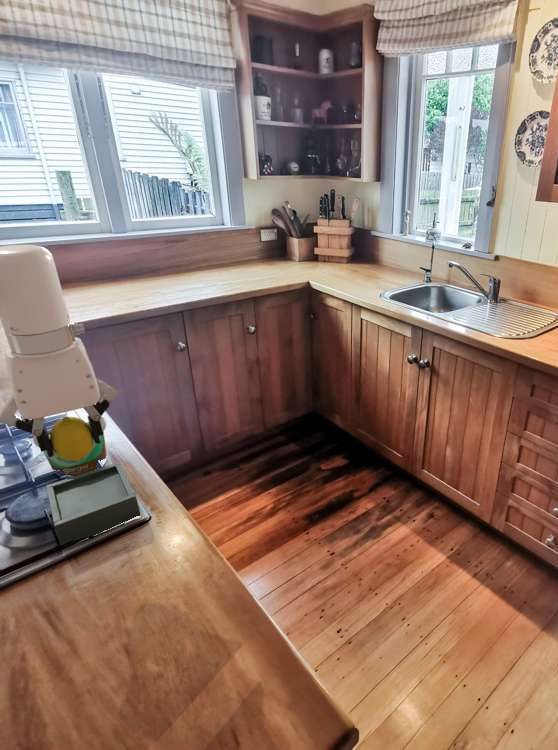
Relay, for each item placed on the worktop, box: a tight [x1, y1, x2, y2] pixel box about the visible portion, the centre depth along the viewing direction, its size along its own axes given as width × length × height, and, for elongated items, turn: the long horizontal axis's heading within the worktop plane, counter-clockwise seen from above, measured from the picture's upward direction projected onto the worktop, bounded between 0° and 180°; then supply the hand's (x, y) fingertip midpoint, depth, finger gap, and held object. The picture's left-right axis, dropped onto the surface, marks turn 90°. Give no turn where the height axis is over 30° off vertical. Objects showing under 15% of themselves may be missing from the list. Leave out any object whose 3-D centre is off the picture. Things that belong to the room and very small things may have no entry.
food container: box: [32, 416, 108, 476], centre depth 91 cm, size 12×6×10 cm, turn 127°
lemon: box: [50, 416, 93, 461], centre depth 72 cm, size 6×6×8 cm
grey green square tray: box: [45, 461, 142, 545], centre depth 82 cm, size 12×12×5 cm
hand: (74, 445), depth 72 cm, fingers closed on lemon, 5 cm apart
